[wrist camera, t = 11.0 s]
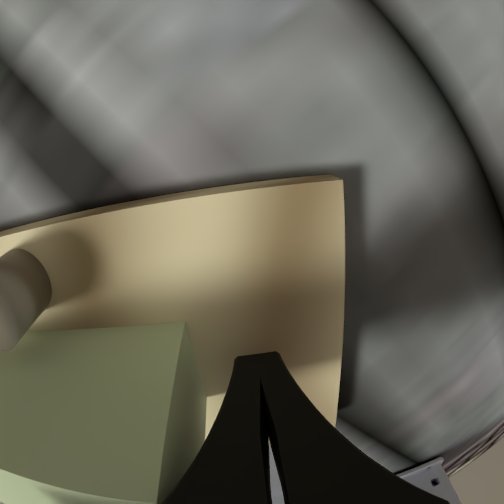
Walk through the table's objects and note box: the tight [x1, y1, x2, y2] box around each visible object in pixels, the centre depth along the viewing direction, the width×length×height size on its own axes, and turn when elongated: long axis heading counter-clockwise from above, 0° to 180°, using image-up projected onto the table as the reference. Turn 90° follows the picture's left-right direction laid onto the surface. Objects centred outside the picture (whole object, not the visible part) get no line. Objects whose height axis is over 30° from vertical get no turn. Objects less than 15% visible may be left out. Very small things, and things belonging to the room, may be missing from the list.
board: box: [0, 174, 345, 445], centre depth 9 cm, size 16×11×4 cm
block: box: [0, 321, 207, 504], centre depth 7 cm, size 8×4×6 cm, turn 96°
